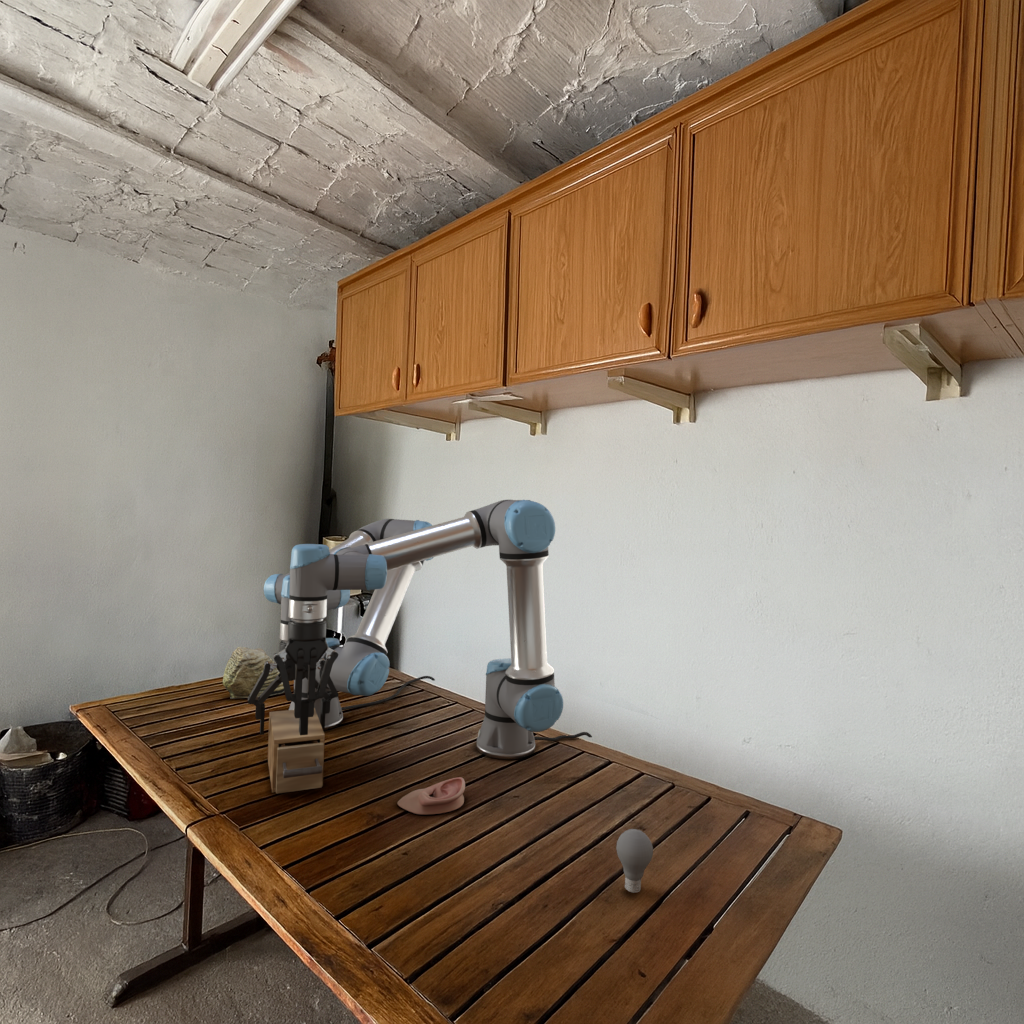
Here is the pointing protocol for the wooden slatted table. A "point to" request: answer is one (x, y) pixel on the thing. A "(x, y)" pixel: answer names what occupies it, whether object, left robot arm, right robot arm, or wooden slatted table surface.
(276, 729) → the cabinet
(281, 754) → the drawer
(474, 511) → the right robot arm
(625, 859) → the light bulb
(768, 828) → the wooden slatted table surface
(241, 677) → the fossil
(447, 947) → the wooden slatted table surface
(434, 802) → the anatomical model
